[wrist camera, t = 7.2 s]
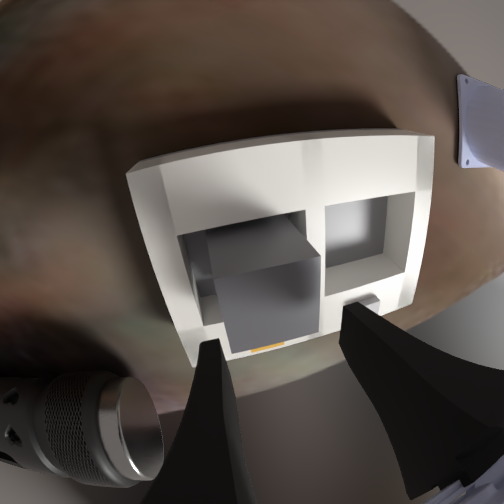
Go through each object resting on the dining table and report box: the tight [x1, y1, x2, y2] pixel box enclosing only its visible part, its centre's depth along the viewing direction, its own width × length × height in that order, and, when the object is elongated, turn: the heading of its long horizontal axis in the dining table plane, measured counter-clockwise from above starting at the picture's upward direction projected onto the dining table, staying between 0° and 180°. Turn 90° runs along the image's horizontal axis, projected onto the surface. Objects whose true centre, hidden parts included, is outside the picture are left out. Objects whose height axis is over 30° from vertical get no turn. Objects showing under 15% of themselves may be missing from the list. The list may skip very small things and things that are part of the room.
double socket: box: [126, 128, 434, 367], centre depth 16 cm, size 16×12×4 cm
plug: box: [205, 214, 321, 354], centre depth 14 cm, size 4×4×6 cm
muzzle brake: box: [0, 370, 164, 488], centre depth 15 cm, size 10×28×10 cm, turn 97°
